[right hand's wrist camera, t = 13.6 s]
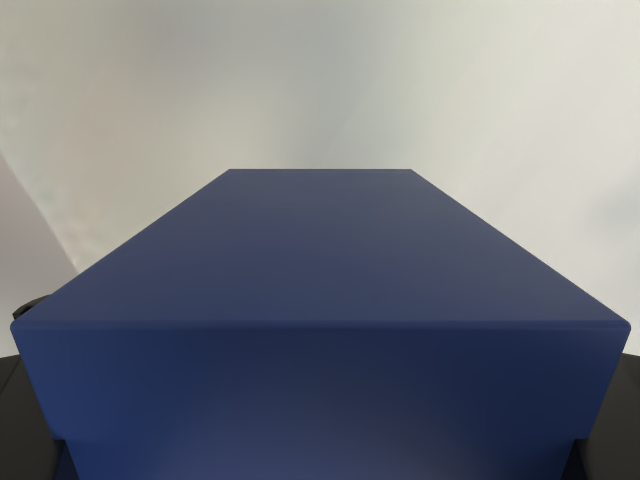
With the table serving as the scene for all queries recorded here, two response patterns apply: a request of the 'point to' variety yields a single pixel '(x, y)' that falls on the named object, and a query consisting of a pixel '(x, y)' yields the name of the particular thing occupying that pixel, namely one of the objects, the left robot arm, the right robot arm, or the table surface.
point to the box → (320, 341)
